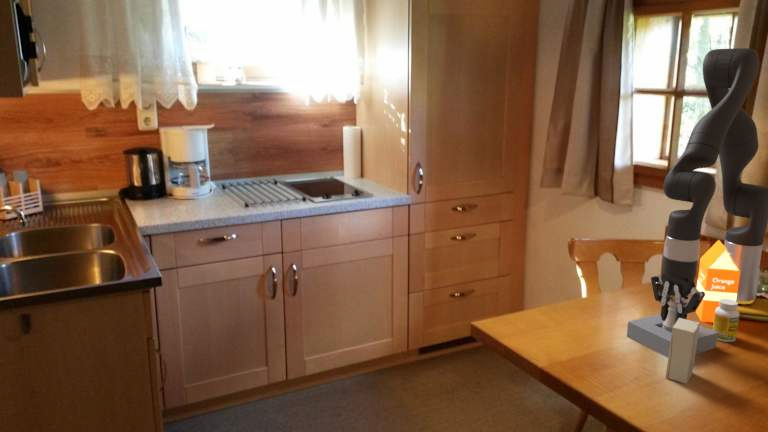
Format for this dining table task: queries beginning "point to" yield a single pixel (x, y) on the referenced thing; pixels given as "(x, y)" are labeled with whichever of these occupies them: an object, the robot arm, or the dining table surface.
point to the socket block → (665, 335)
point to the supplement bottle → (726, 320)
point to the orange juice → (716, 280)
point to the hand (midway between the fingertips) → (672, 322)
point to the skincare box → (682, 350)
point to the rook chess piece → (670, 315)
